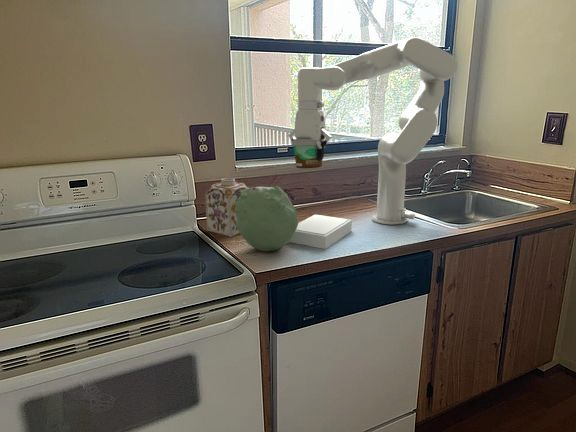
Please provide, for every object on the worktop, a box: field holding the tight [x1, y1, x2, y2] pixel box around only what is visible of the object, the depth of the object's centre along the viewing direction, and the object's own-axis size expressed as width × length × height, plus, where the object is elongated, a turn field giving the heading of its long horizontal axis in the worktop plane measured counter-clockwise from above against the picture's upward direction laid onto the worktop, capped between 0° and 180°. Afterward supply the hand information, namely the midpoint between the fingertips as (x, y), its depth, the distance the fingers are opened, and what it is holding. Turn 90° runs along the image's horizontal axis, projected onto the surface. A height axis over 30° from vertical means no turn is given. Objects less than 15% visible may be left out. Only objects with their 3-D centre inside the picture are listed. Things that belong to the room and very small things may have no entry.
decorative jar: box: [204, 177, 249, 238], centre depth 154 cm, size 12×12×18 cm
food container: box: [291, 138, 326, 169], centre depth 155 cm, size 12×6×10 cm, turn 116°
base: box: [287, 214, 353, 250], centre depth 149 cm, size 14×20×4 cm
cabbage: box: [234, 185, 299, 252], centre depth 135 cm, size 16×19×20 cm
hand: (309, 158), depth 156 cm, fingers closed on food container, 7 cm apart
